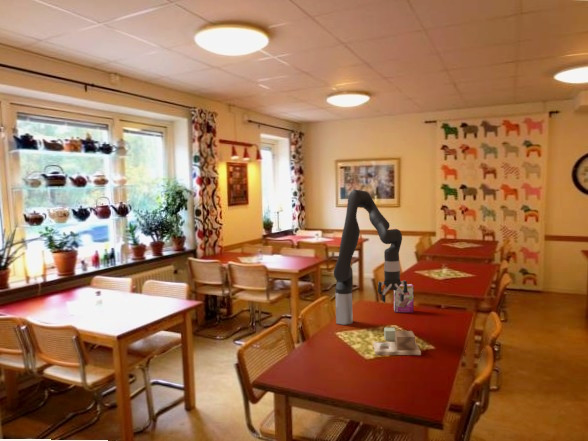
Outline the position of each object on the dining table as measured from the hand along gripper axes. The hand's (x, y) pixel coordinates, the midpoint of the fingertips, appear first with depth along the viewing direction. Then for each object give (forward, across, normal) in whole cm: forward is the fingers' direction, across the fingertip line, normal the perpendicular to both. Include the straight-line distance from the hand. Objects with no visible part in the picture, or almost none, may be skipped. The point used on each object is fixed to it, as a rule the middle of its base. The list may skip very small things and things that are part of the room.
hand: (392, 301), depth 205 cm
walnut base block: (+17, -1, +16) cm, 23 cm away
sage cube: (+18, +2, +1) cm, 19 cm away
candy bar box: (+18, -16, -43) cm, 50 cm away
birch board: (+18, +3, +15) cm, 24 cm away
